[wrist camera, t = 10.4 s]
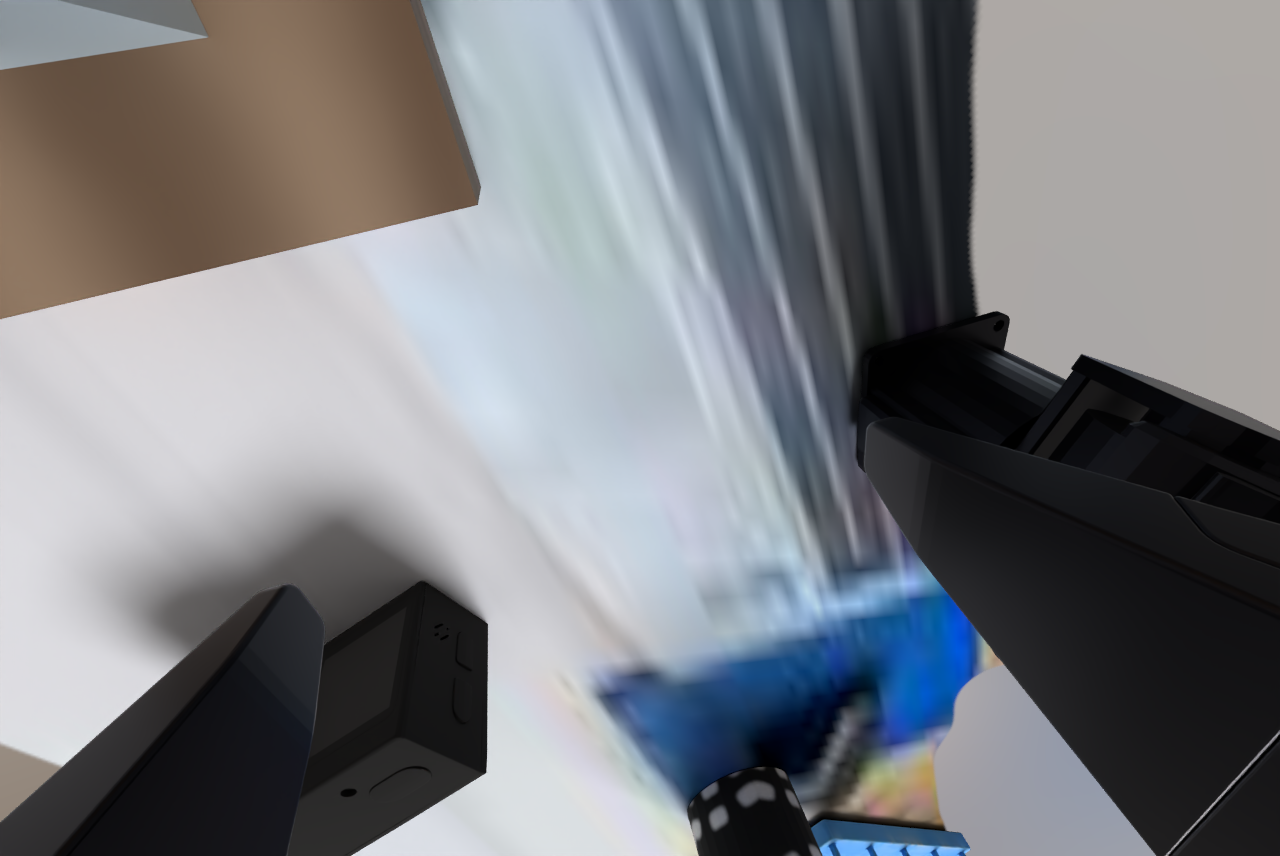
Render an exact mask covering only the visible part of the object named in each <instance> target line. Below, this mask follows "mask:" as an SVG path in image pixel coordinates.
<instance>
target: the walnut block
mask: <svg viewBox="0 0 1280 856" xmlns="http://www.w3.org/2000/svg"><path fill="white" fill-rule="evenodd" d="M191 1H192V3H193V6H194V8H195V10H196V12H197V14H198V16H199V18H200V20H201V22H202V24H203V26H204V28H205V30H206V32H207V35H208V37H207V38H201V39H195V40H188V41H182V42H175V43H169V44H163V45H156V46H150V47H143V48H137V49H131V50H124V51H118V52H111V53H105V54H99V55H92V56H86V57H79V58H73V59H67V60H60V61H54V62H47V63H41V64H35V65H28V66H22V67H15V68H9V69H3V70H0V319H3V318H7V317H11V316H15V315H19V314H24V313H28V312H32V311H36V310H40V309H44V308H49V307H53V306H57V305H61V304H65V303H70V302H74V301H78V300H82V299H86V298H90V297H95V296H99V295H103V294H107V293H111V292H116V291H120V290H124V289H128V288H132V287H136V286H141V285H145V284H149V283H153V282H157V281H162V280H166V279H170V278H174V277H178V276H182V275H187V274H191V273H195V272H199V271H203V270H207V269H212V268H216V267H220V266H224V265H228V264H233V263H237V262H241V261H245V260H249V259H253V258H258V257H262V256H266V255H270V254H274V253H279V252H283V251H287V250H291V249H295V248H299V247H304V246H308V245H312V244H316V243H320V242H325V241H329V240H333V239H337V238H341V237H345V236H350V235H354V234H358V233H362V232H366V231H370V230H375V229H379V228H383V227H387V226H391V225H396V224H400V223H404V222H408V221H412V220H416V219H421V218H425V217H429V216H433V215H437V214H442V213H446V212H450V211H454V210H458V209H462V208H467V207H471V206H475V205H478V200H479V195H480V189H481V186H480V183H479V180H478V176H477V173H476V170H475V167H474V164H473V161H472V158H471V155H470V152H469V149H468V146H467V143H466V139H465V136H464V133H463V130H462V127H461V124H460V121H459V118H458V115H457V112H456V109H455V106H454V103H453V99H452V96H451V93H450V90H449V87H448V84H447V81H446V78H445V75H444V72H443V69H442V66H441V62H440V59H439V56H438V53H437V50H436V47H435V44H434V41H433V38H432V35H431V32H430V29H429V25H428V22H427V19H426V16H425V13H424V10H423V7H422V4H421V1H420V0H191Z"/></svg>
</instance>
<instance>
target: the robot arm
mask: <svg viewBox="0 0 1280 856" xmlns="http://www.w3.org/2000/svg"><path fill="white" fill-rule="evenodd" d="M1009 321H1010V319H1009V317H1008V316H1007V315H1005V314H1003V313H1000V312H998V311H996V312H991V313H987V314H984V315H981V316H977V317H974V318H970V319H967V320H964V321H960V322H957V323H953V324H950V325H947V326H943V327H940V328H936V329H933V330H930V331H926V332H923V333H919V334H916V335H913V336H909V337H906V338H902V339H899V340H896V341H892V342H889V343H885V344H882V345H879V346H875V347H873V348H871V349H869V350H868V351H867V352H866V354H865V355H864V358H863V368H862V389H861V400H860V403H859V420H858V441H857V446H858V448H859V452H858V466H859V467H860V468H861V469H862V470H863V471H864V472H865V473H866V474H867V477H868V479H869V480H870V482H871V484H872V485H873V487H874V488H875V490H876V491H877V493H878V495H879V496H880V498H881V499H882V501H883V503H884V504H885V506H886V507H887V509H888V510H889V512H890V514H891V515H892V517H893V518H894V520H895V521H896V523H897V525H898V526H899V528H900V529H901V531H902V533H903V534H904V536H905V537H906V539H907V540H908V542H909V543H910V545H911V546H912V548H913V549H914V551H915V552H916V554H917V555H918V556H919V558H920V559H921V560H922V562H923V563H924V564H925V566H926V567H927V568H928V570H929V571H930V572H931V573H932V575H933V576H934V577H935V578H936V580H937V581H938V582H939V583H940V585H941V586H942V587H943V588H944V590H945V591H946V592H947V593H948V595H949V596H950V597H951V598H952V600H953V601H954V602H955V603H956V605H957V606H958V607H959V608H960V610H961V611H962V612H963V613H964V615H965V616H966V617H967V619H968V620H969V621H970V622H971V624H972V625H973V626H974V627H975V629H976V630H977V631H978V632H979V634H980V635H981V636H982V637H983V639H984V640H985V641H986V642H987V644H988V645H989V646H990V647H991V649H992V650H993V652H994V653H995V655H996V656H997V657H998V658H999V659H1000V660H1001V661H1002V662H1003V664H1004V665H1005V666H1006V667H1007V669H1008V670H1009V671H1010V673H1011V674H1012V675H1013V676H1014V677H1015V679H1016V680H1017V681H1018V683H1019V684H1020V685H1021V686H1022V688H1023V689H1024V690H1025V691H1026V693H1027V694H1028V695H1029V696H1030V698H1031V699H1032V700H1033V701H1034V702H1035V704H1036V705H1037V706H1038V708H1039V709H1040V710H1041V711H1042V713H1043V714H1044V715H1045V716H1046V718H1047V719H1048V720H1049V721H1050V723H1051V724H1052V725H1053V726H1054V728H1055V729H1056V730H1057V732H1058V733H1059V734H1060V735H1061V737H1062V738H1063V739H1064V740H1065V742H1066V743H1067V744H1068V745H1069V747H1070V748H1071V749H1072V750H1073V752H1074V753H1075V754H1076V755H1077V757H1078V758H1079V759H1080V760H1081V762H1082V763H1083V764H1084V765H1085V767H1086V768H1087V769H1088V770H1089V772H1090V773H1091V774H1092V776H1093V777H1094V778H1095V779H1096V781H1097V782H1098V783H1099V784H1100V786H1101V787H1102V788H1103V789H1104V791H1105V792H1106V793H1107V794H1108V796H1109V797H1110V798H1111V799H1112V801H1113V802H1114V803H1115V804H1116V806H1117V807H1118V808H1119V809H1120V811H1121V812H1122V813H1123V814H1124V816H1125V817H1126V818H1127V819H1128V821H1129V822H1130V823H1131V824H1132V826H1133V827H1134V828H1135V829H1136V830H1137V832H1138V833H1139V834H1140V836H1141V837H1142V838H1143V840H1144V841H1145V842H1146V843H1147V845H1148V846H1149V847H1150V848H1151V850H1152V851H1153V852H1154V853H1155V855H1156V856H1280V431H1279V430H1277V429H1274V428H1272V427H1270V426H1268V425H1266V424H1264V423H1262V422H1260V421H1258V420H1255V419H1253V418H1251V417H1249V416H1247V415H1245V414H1243V413H1240V412H1238V411H1236V410H1233V409H1231V408H1228V407H1226V406H1223V405H1221V404H1218V403H1216V402H1213V401H1211V400H1208V399H1206V398H1203V397H1201V396H1198V395H1195V394H1193V393H1191V392H1188V391H1186V390H1183V389H1181V388H1178V387H1175V386H1173V385H1170V384H1168V383H1165V382H1162V381H1160V380H1157V379H1154V378H1151V377H1148V376H1145V375H1142V374H1139V373H1136V372H1133V371H1130V370H1127V369H1125V368H1122V367H1119V366H1116V365H1113V364H1110V363H1107V362H1104V361H1100V360H1098V359H1095V358H1092V357H1089V356H1086V355H1083V354H1081V355H1080V357H1079V358H1078V360H1077V361H1076V362H1075V364H1074V365H1073V366H1072V368H1071V369H1072V370H1073V372H1072V373H1071V374H1070V376H1069V377H1068V378H1067V380H1065V379H1063V378H1061V377H1059V376H1057V375H1055V374H1053V373H1051V372H1049V371H1047V370H1045V369H1042V368H1040V367H1038V366H1036V365H1034V364H1032V363H1030V362H1028V361H1026V360H1024V359H1021V358H1019V357H1017V356H1015V355H1013V354H1011V353H1009V352H1007V351H1005V350H1004V346H1005V342H1006V337H1007V332H1008V327H1009ZM877 357H879V359H878V360H877V361H876V362H874V361H875V359H876V358H877ZM324 639H325V625H324V622H323V619H322V617H321V615H320V614H319V613H318V612H317V610H316V609H315V608H314V606H313V605H312V604H311V603H310V601H309V600H308V599H307V598H306V596H305V595H304V594H303V592H302V591H301V590H300V589H299V588H298V587H297V586H296V585H294V584H292V583H285V584H281V585H278V586H274V587H271V588H267V589H264V590H261V591H260V592H258V593H257V594H255V595H254V596H253V597H252V598H251V599H250V600H249V601H248V602H246V603H245V604H244V605H243V606H242V607H241V608H240V609H239V610H237V611H236V612H235V613H234V614H233V615H232V616H231V617H230V618H228V619H227V620H226V621H225V622H224V623H223V624H222V625H221V626H220V627H218V628H217V629H216V630H215V631H214V632H213V633H212V634H211V635H209V636H208V637H207V638H206V639H205V640H204V641H203V642H202V643H200V644H199V645H198V646H197V647H196V648H195V649H194V650H193V651H192V652H190V653H189V654H188V655H187V656H186V657H185V658H184V659H183V660H181V661H180V662H179V663H178V664H177V665H176V666H175V667H174V668H172V669H171V670H170V671H169V672H168V673H167V674H166V675H165V676H164V677H162V678H161V679H160V680H159V681H158V682H157V683H156V684H155V685H153V686H152V687H151V688H150V689H149V690H148V691H147V692H146V693H144V694H143V695H142V696H141V697H140V698H139V699H138V700H137V701H136V702H134V703H133V704H132V705H131V706H130V707H129V708H128V709H127V710H125V711H124V712H123V713H122V714H121V715H120V716H119V717H118V718H116V719H115V720H114V721H113V722H112V723H111V724H110V725H109V726H108V727H106V728H105V729H104V730H103V731H102V732H101V733H100V734H99V735H97V736H96V737H95V738H94V739H93V740H92V741H91V742H90V743H88V744H87V745H86V746H85V747H84V748H83V749H82V750H81V751H80V752H78V753H77V754H76V755H75V756H74V757H73V758H72V759H71V760H69V761H68V762H67V763H66V764H65V765H64V766H63V767H62V768H60V769H59V770H58V771H57V772H56V773H55V774H54V775H53V776H52V777H50V778H49V779H48V780H47V781H46V782H45V783H44V784H43V785H41V786H40V787H39V788H38V789H37V790H36V791H35V792H34V793H32V794H31V795H30V796H29V797H28V798H27V799H26V800H25V801H24V802H22V803H21V804H20V805H19V806H18V807H17V808H16V809H15V810H13V811H12V812H11V813H10V814H9V815H8V816H7V817H6V818H4V819H3V820H2V821H1V822H0V856H287V852H288V848H289V843H290V839H291V834H292V830H293V825H294V821H295V816H296V812H297V807H298V803H299V798H300V794H301V789H302V785H303V780H304V776H305V771H306V767H307V762H308V758H309V753H310V748H311V743H312V738H313V732H314V725H315V719H316V710H317V701H318V692H319V683H320V675H321V666H322V657H323V648H324Z"/></svg>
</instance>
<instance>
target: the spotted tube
mask: <svg viewBox="0 0 1280 856" xmlns="http://www.w3.org/2000/svg"><path fill="white" fill-rule="evenodd" d="M688 818H689V821H690V825H691V829H692V832H693V836H694V840H695V843H696V847H697V851H698V854H699V856H823V855H822V853H821V851H820V848H819V846H818V844H817V842H816V839H815V837H814V835H813V832H812V830H811V828H810V826H809V823H808V821H807V819H806V816H805V814H804V812H803V810H802V807H801V805H800V803H799V800H798V798H797V796H796V794H795V791H794V789H793V787H792V784H791V782H790V780H789V778H788V776H787V774H786V773H785V772H784V771H782V770H781V769H778V768H774V767H757V768H751V769H746V770H743V771H739V772H736V773H733V774H731V775H728V776H726V777H724V778H722V779H720V780H718V781H716V782H714V783H713V784H711V785H709V786H708V787H707V788H705V789H704V790H703V791H701V792H700V793H699V794H698V795H697V796H696V797H695V798H694V800H693V801H692V802H691V804H690V806H689V808H688Z"/></svg>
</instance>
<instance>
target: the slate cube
mask: <svg viewBox="0 0 1280 856" xmlns="http://www.w3.org/2000/svg"><path fill="white" fill-rule="evenodd" d="M207 37H208V35H207V32H206V30H205V28H204V26H203V24H202V22H201V20H200V18H199V16H198V14H197V12H196V10H195V8H194V6H193V3H192V1H191V0H0V70H3V69H9V68H15V67H22V66H28V65H35V64H41V63H47V62H54V61H60V60H67V59H73V58H79V57H86V56H92V55H99V54H105V53H111V52H118V51H124V50H131V49H137V48H143V47H150V46H156V45H163V44H169V43H175V42H182V41H188V40H195V39H201V38H207Z"/></svg>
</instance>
